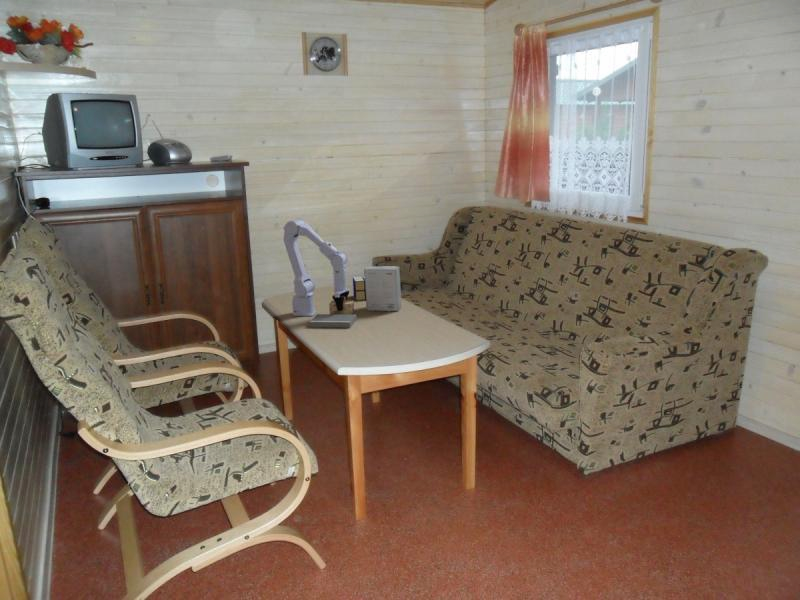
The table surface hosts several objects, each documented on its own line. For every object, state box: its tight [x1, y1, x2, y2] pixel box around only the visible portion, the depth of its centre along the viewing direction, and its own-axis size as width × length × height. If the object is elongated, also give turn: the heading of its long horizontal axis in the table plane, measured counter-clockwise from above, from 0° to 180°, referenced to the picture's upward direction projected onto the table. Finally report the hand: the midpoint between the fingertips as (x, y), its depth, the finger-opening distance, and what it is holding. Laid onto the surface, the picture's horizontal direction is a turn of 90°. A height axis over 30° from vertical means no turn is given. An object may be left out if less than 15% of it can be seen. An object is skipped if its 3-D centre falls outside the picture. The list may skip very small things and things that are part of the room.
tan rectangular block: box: [328, 300, 355, 315], centre depth 295 cm, size 10×6×5 cm, turn 81°
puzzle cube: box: [352, 275, 366, 301], centre depth 327 cm, size 10×10×10 cm
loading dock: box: [309, 313, 357, 329], centre depth 284 cm, size 18×12×3 cm, turn 81°
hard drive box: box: [363, 265, 402, 312], centre depth 303 cm, size 16×8×20 cm, turn 74°
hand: (341, 308), depth 295 cm, fingers closed on tan rectangular block, 6 cm apart
